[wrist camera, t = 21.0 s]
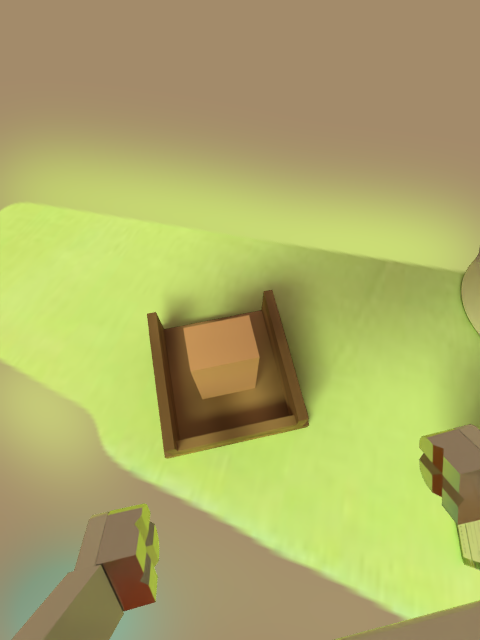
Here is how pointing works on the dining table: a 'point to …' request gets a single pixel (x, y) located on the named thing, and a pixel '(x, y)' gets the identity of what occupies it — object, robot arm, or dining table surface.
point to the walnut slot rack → (230, 409)
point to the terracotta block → (222, 356)
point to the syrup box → (470, 543)
